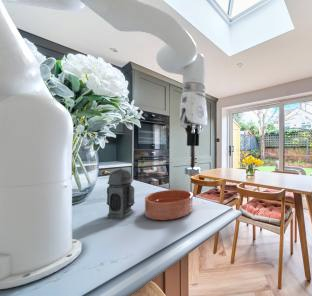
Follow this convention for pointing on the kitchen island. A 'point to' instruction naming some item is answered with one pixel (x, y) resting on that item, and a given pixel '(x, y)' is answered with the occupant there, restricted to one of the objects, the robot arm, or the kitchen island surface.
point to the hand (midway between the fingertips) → (192, 145)
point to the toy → (120, 194)
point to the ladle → (192, 164)
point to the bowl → (168, 204)
